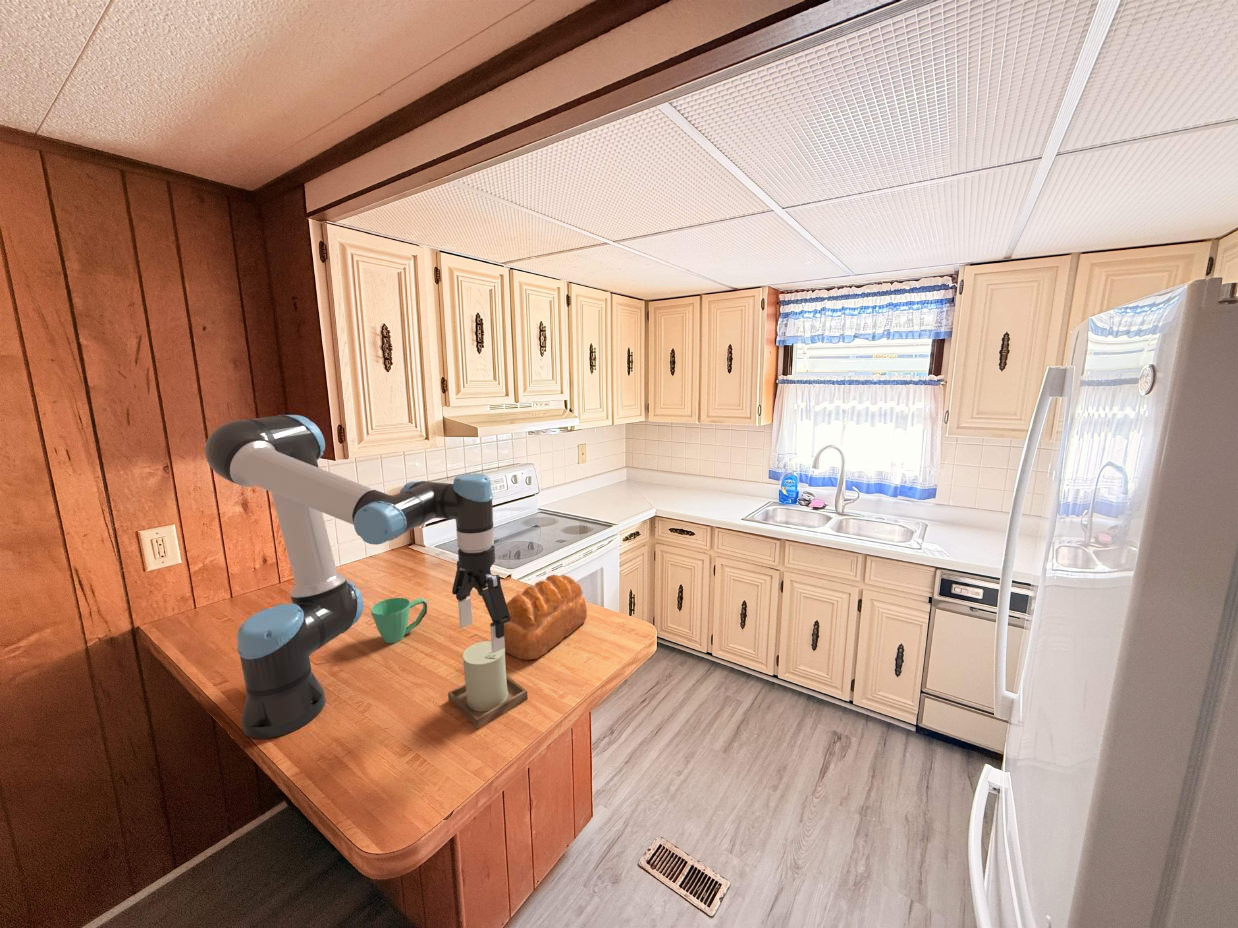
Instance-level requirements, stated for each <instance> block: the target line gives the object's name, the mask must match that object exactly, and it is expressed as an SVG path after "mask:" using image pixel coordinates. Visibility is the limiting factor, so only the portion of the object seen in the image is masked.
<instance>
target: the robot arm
mask: <svg viewBox="0 0 1238 928" xmlns="http://www.w3.org/2000/svg"><path fill="white" fill-rule="evenodd" d="M325 449H326V442H325V437H324V435H323V433H322V431H321V429H320V428H319V427H318V425H317V424H316V423H314V422H313V421H311V420H310V419H309V418H307V417H305V416H304V415H303V416H302V415H300V414H299V415H298V414H278V415H274V416H273V415H272V416H266V417H265V416H264V417H258V418H248V419H239V420H238V419H237V420H232V421H228V422H226V423H223V424H222V425H220V426H218V427H217V428H215V429H214V431H212V432H211V433H210V435H209V436H208V438H207V439H206V443H205V446H204V455H205V458H206V463H208V465H209V466H210V468H211V469H212V471H214V472H215V473H216V474H217V475H218V476H220V477H221V478H222V479H225V480H227V481H229V482H231V483H234V484H236V485H238V486H241V487H245V488H250V487H255V486H256V487H258V488H260V489H263V490H266V491H267V492H270V494H271V496H272V501H273V503H274V508H275V512H276V516H277V518H278V519H277V520H278V524H279V527H280V530H281V531H280V532H281V534H282V539H283V541H284V547H285V550H286V554H287V557H288V562H289V565H290V568H291V572H292V576H293V579H294V584H295V585H294V587H293V588H292V590H291V591H290V592H289V595H290V599H291V603H290V602H289V603H281V604H276V605H273V606H272V607H270V608H269V607H266V608H264V609H262V610H259V611H257V612H256V613H255V614H252V615H251V616H249V617H248V618H247V619H246V620H245V621H244V622H243V623H242V624H241V625H240V627H239V628H238V630H237V636H236V639H237V649H236V650H237V653H238V655H239V658H240V664H241V668H242V670H241V671H242V675H243V679H244V685H245V689H246V696H245V701H244V704H243V705H244V706H243V710H242V714H241V719H240V722H241V727H242V732H243V734H244V735H245V736H246V737H248V738H251V739H256V740H264V739H266V740H267V739H272V738H276V737H279V736H284V735H286V734H289V733H292V732H294V731H296V730H298V729H300V728H302V727H303V726H305V725H307V724H308V723H310V722H312V721H313V719H315V718H316V717H317V716H318V715H319V714H320V713H321V712H322V711H323V709H324V707H325V705H326V694H325V689H324V688H323V686H322V685H321V683H320V682H319V680H318V678H317V677H316V676H315V674H314V673H313V671H312V666H311V665H312V664H311V658H310V656H311V655H312V654H313V653H315V652H317V650H320V649H322V648H323V647H324V646H326V645H327V644H329V643H330V642H331V641H333V640H335V638H337V637H338V636H340V635H342V634H345V633H346V632H347V631H348V630H350V629H351V627H352V626H354V625H355V624H356V623H357V622H358V621H359V619H361V616H362V614H363V612H364V598H363V595H362V593H361V590H360V589H359V588H356V584H354V582H352V581H349V580H347V577H346V575H343V574H341V573H339V572H338V571H337V567H336V563H335V558H334V555H333V550H332V546H331V543H330V539H329V534H328V531H327V526H326V523H325V519H324V514H326V515H328V516H330V517H333V518H336V519H338V520H339V521H342V522H346V523H348V524H351V525H352V526H353V527H354V532H355V533H356V534H357V536H359V537H360V538H361V539H362V541H363V542H364V543H367V544H370V545H382V544H385V543H387V542H389V541H393V540H395V539H398V538H399V537H401V536H402V535H404V534H406V533H407V532H409V531H411V530H413V529H414V528H418V527H420V526H421V525H423V524H425V523H427V522H429V521H431V520H433V519H443V520H455V524H456V525H455V526H456V543H457V544H456V545H457V548H458V551H457V555H458V557H457V559H458V560H457V561H456V572H455V576H454V581H453V584H452V585H453V586H452V590H451V593H452V595H455V598H456V600H457V602H458V619H459V628H460V629H464V628H467V627H468V626H471V625H473V613H472V599H471V597H470V596H471V591H472V590H473V589H475V590H476V591H477V594H478V595H479V596H480V597H482V600H483V603H484V604H485V607H486V609H487V612H488V614H489V616H490V619H491V621H492V622H490V624H489V626H490V641H491V646H492V652H493V653H495V652H497V651H499V650H501V649H503V648H505V640H504V635H505V633H504V624H505V623H507V622H509V621H510V620H511V618H510V615H509V611H508V608H507V605H506V604H507V602H506V598H505V594H504V590H503V589H502V583H501V577H500V576H501V575H499V574H496V575H493V574H492V572H491V567H492V566H493V565H494V564H495V562H496V549H495V548H496V547H495V546H494V544H495V534H494V531H495V527H494V517H493V516H494V513H493V511H494V510H493V498H494V496H493V489H492V482H491V481H492V480H491V477H489V476H488V475H486V474H483V473H465V474H460V475H457V476H455V478H454V479H453V481H452V482H453V483H450V482H449V483H447V482H435V481H427V480H420V481H419V480H418V481H414V480H413V481H410V482H406V483H405V484H404V485H403V487H402V488H401V489H400V491H399V492H398V493H396V494H393V495H392V494H388V493H385V492H382V491H379V490H377V489H374V488H371V487H369V486H367V485H364V484H361V483H358V482H356V481H353V480H351V479H348V478H346V477H342V476H340V475H338V474H336V473H333V472H330V471H328V470H326V469H323V468H320V466H319V464H318V461H319V460H320V458H322V456H323V455H324V452H325Z"/></svg>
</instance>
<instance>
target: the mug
mask: <svg viewBox="0 0 1238 928" xmlns="http://www.w3.org/2000/svg"><path fill="white" fill-rule="evenodd" d="M420 604H421V605H422V609H421V611H420V612H419V614H418V616H417V617H416V619H415V620H414V621H413V622H412V623H410V624H409V625H408V623H409V618H410V617H409V615H410V609H412V608H413V607H416V606H418V605H420ZM370 612H371V617H372V618H373V621H374V623H375V627H376V630H377V631H378V633H379V635H380V637H382V639H383V640H384V642H385V643H387V644H395V643H398V642H400V641H402V640H403V639H404V637H405V635H406V634H408V633H409V632H411V631H412V630H413V629H415V628H416V627H418V626H419V625H420V623H421V621H423V619H424V618H425V616H426V615H427V613H428V600H426V599H424V598H423V597H419V598H416V599H414V600H412V601H410V600H409V599H408V598H404V597H392V598H387V599H384V600H380V601H379V602H377V603H375V604H374V605H372V606H371V608H370Z"/></svg>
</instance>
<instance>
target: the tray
mask: <svg viewBox="0 0 1238 928" xmlns="http://www.w3.org/2000/svg"><path fill="white" fill-rule="evenodd" d="M506 680H507V690H508V697H507V700H506V701H505V702H503V703H502V704H500V705H498V706H497V707H495V708H493V709H491V710H490V711H484V712H479V711H474V710H472V709H470V708H469V707H468V706H467V703H466V699H467V694H466V683H464V684H463V685H460V686H458V687H456V688H455V689H453V690H451V691H449V692H447V697H448V698H447V700H448V702H449V703H450V704H452V706H453V707H454V708H455V709H456V710H457V711H458V712H460V714H462V716H463V717H465V718H466V720H468V722H470V723H471V724H472V725H473V726H474V727H475V728H476V729H478V730H479V728H482V727H484V726H485V725H486V724H489V723H490V722H492V721H493V720H495V719H496V718H498V717H500V716H502V715H504V714H505V713H507V712H508V711H510V710H511V709H513V708H515V707H518V705H520V704H522V703H523V702H525V701H527V700H528V690H527V689H526V688H524V687H523V686H522V685H520V684H519V683H518V682H516V681H515V680H514V679H512V677H511V676H508V674H506Z"/></svg>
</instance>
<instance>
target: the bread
mask: <svg viewBox="0 0 1238 928" xmlns="http://www.w3.org/2000/svg"><path fill="white" fill-rule="evenodd" d="M583 595H584V593H583V589H582V587H581V585H580V583H578V582H577V581H576V580H575V579H573V578H572V577H570V576H567V575H565V574H561V575H557V574H551V575H548V576H547V577H546V578H545V580H539V581H537V582H535V584H534V586H531V585H530V586H528V587H526V588H525V589H524V590H523V591H522V593H521V594H519V593H517V595H514V597H512V598H511V599H509V600H508V602H506V605H507V608H508V611H509V615H510V618H511V620H510V621H509V622H507V623H505V624H504V633H505V635H504V640H505V653H507V654H509V655H511V656H513V657H515V658H517V659H521V660H526V661H527V660H535V659H538V658H540V657H542V656H543V655H545V654H546V653H547V652H549V650H550V649H553V648H554V647H555V646H556V645H557V644H559V643H560V642H562V641H563V639H564V638H566V637H568V636H569V635H571V634H572V633H573V632H575V631H576V630H577V629H578V628H579V626H581V625H582V624H583V623H584V622H585V621H586V620H587V617H588V615H587V614H588V613H587V612H588V609H587V604H586V600H585V597H584V596H583Z"/></svg>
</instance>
